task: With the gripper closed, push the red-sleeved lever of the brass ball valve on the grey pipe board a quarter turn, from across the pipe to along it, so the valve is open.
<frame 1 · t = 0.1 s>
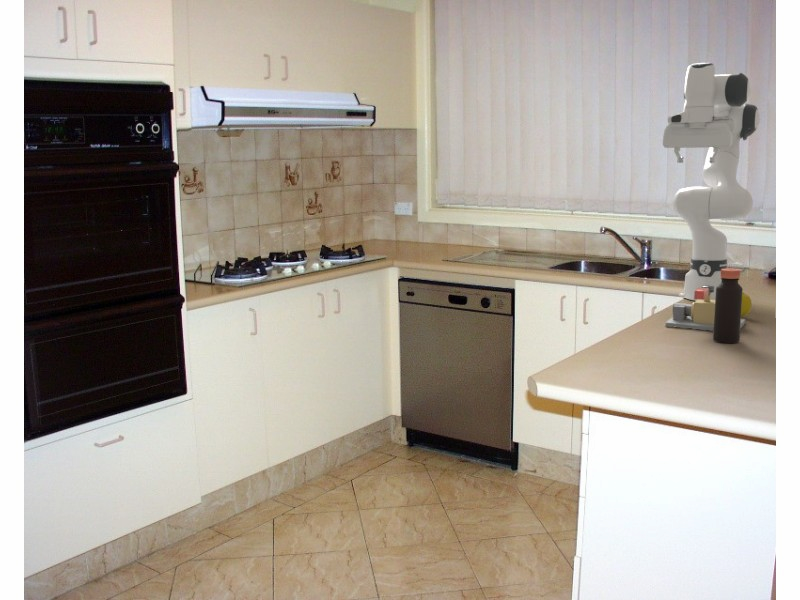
hand: (695, 162, 259), 48 cm above the table, tool pointing down, fingers open, 8 cm apart
bottle: (725, 341, 232), on the table
valve assembly: (705, 324, 252), on the table
lever: (704, 291, 246), point 11 cm above the table, hinge at 0.0°
lemon: (741, 318, 262), on the table
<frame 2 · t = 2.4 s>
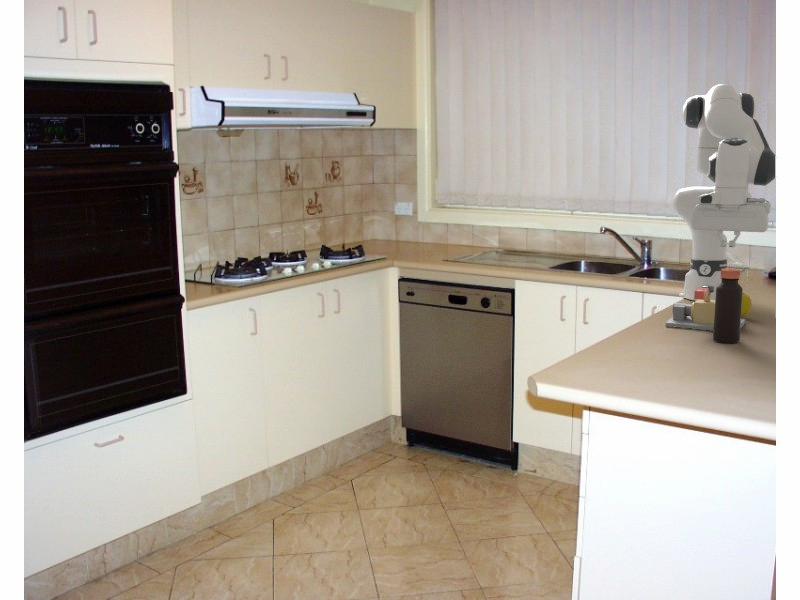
hand: (727, 246, 236), 25 cm above the table, tool pointing down, fingers closed
nothing on the table moved.
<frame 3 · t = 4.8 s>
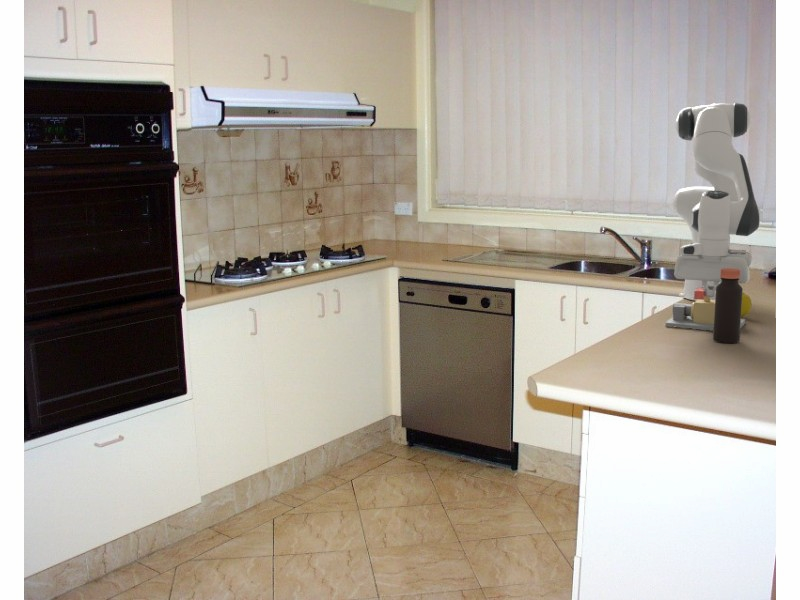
hand: (710, 296, 241), 11 cm above the table, tool pointing down, fingers closed
lever: (704, 291, 246), point 11 cm above the table, hinge at 0.1°, touching gripper
everything else where it was.
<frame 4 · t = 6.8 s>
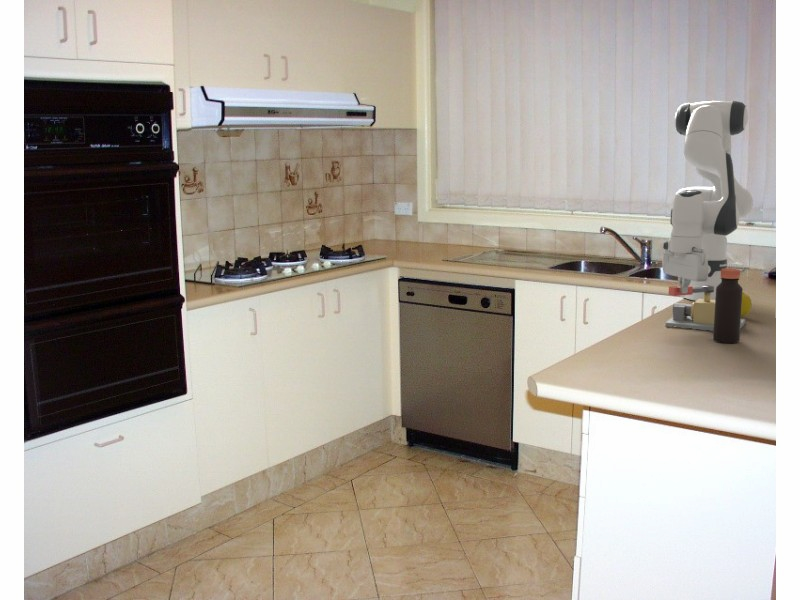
hand: (683, 292, 245), 11 cm above the table, tool pointing down, fingers closed, pressing on lever
lever: (692, 289, 249), point 11 cm above the table, hinge at 42.0°, touching gripper
everything else where it was.
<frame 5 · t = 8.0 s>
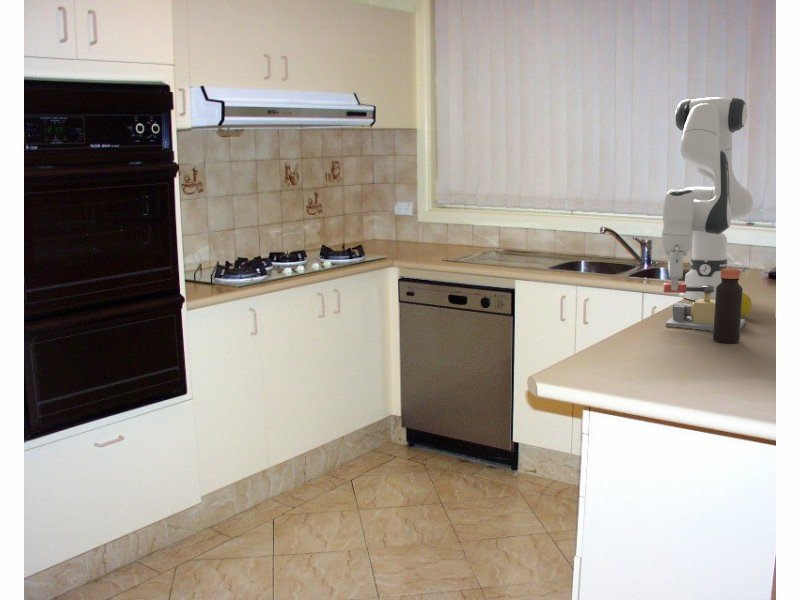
hand: (674, 290, 250), 11 cm above the table, tool pointing down, fingers closed, pressing on lever
lever: (688, 288, 251), point 11 cm above the table, hinge at 69.9°, touching gripper
everything else where it was.
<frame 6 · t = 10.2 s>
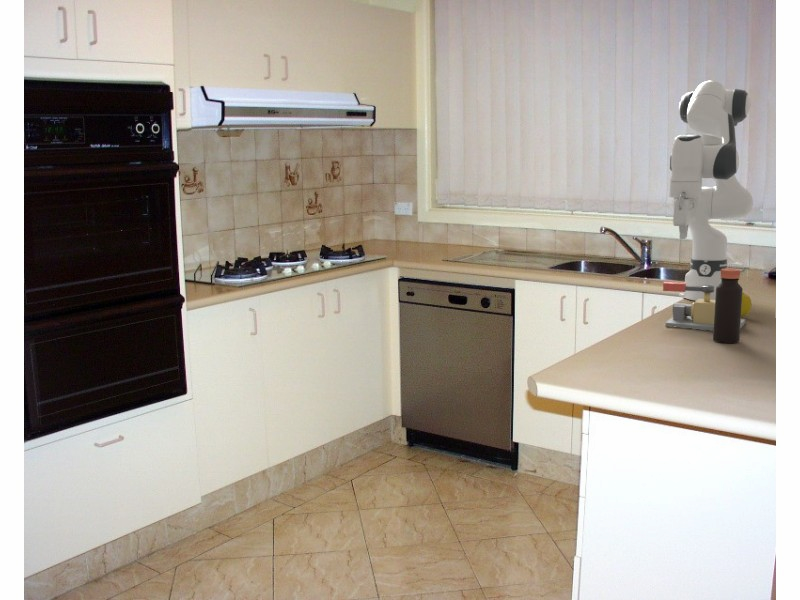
hand: (683, 238, 245), 26 cm above the table, tool pointing down, fingers closed
lever: (688, 287, 252), point 11 cm above the table, hinge at 81.7°
everything else where it was.
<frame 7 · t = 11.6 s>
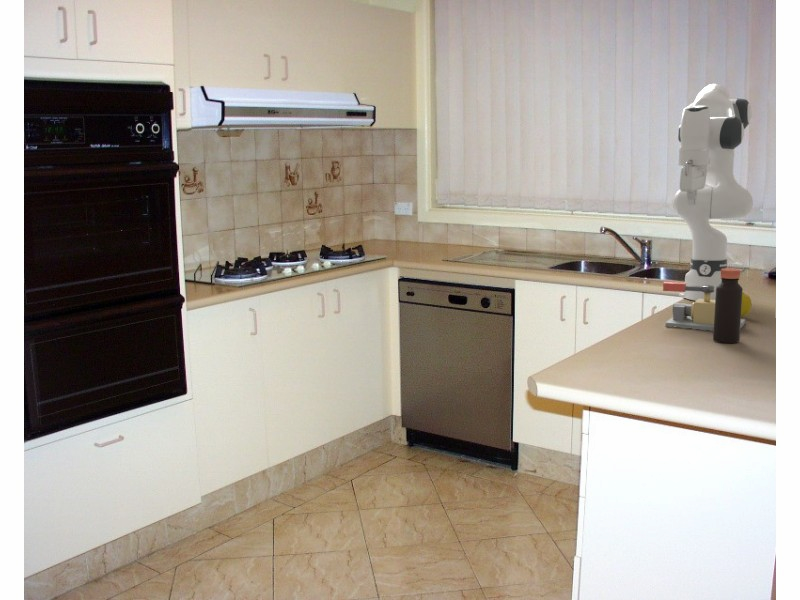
hand: (691, 205, 258), 35 cm above the table, tool pointing down, fingers closed
nothing on the table moved.
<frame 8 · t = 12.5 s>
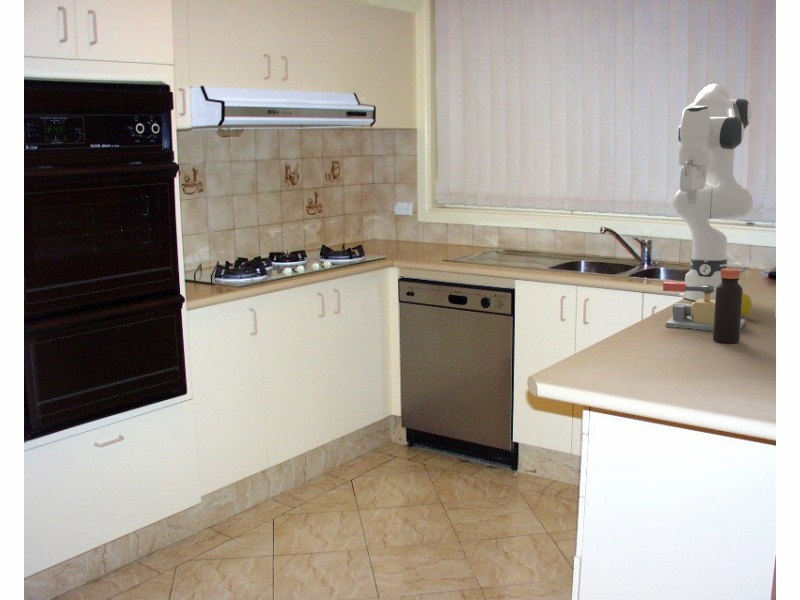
hand: (691, 205, 258), 35 cm above the table, tool pointing down, fingers closed
nothing on the table moved.
at the end: lever at +82° (first picture: +0°); the gripper is holding nothing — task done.
